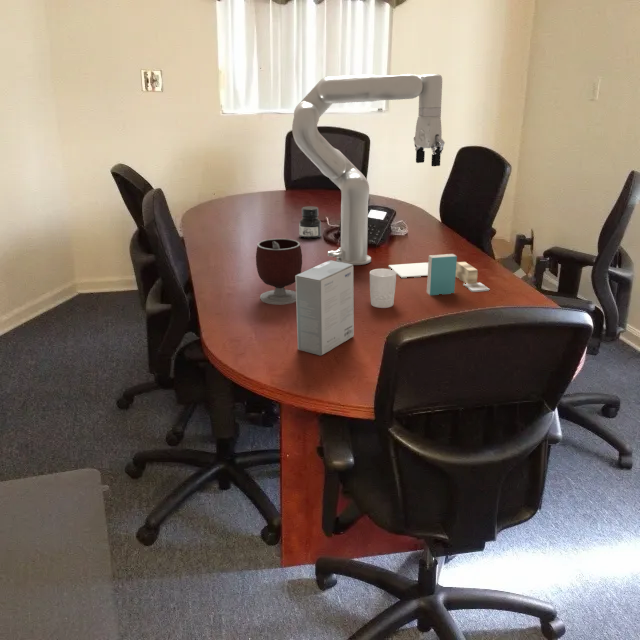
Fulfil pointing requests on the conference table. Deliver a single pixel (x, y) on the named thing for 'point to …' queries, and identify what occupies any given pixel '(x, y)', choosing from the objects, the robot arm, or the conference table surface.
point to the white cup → (382, 287)
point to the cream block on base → (469, 277)
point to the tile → (441, 274)
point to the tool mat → (410, 269)
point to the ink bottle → (310, 223)
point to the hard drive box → (324, 307)
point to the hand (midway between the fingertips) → (427, 164)
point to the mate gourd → (278, 268)
